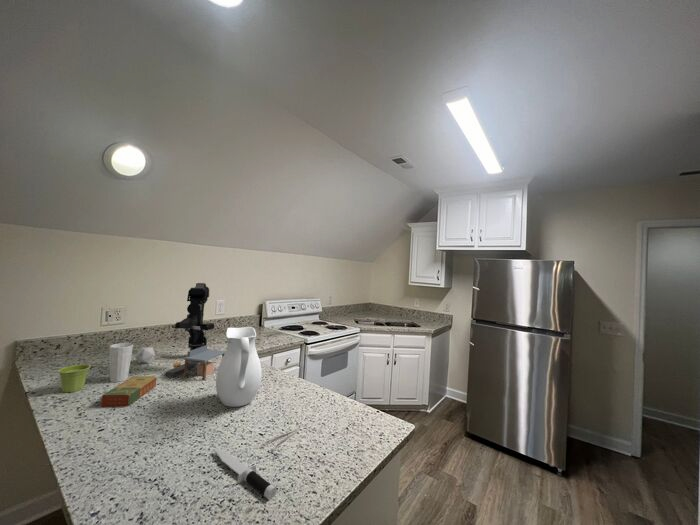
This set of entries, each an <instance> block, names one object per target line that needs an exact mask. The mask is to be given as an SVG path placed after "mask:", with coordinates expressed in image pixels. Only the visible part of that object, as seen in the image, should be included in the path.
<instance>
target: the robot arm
mask: <svg viewBox="0 0 700 525" xmlns="http://www.w3.org/2000/svg"><path fill="white" fill-rule="evenodd" d="M208 298H210V287H208V286H207V283H205V282H198V283H195V287H190V288H189V290H188V294H187V299H186V301H187V302H190V303H189V304H188V305H187V308H186V310H187V313H188V314H187V315H186V317H185V318H184V319H182V320H181V321H177V322H175V324H174V328H175V329H182V330H183V329H184V331H186V332H188V334H189V336H188V346H187V348H188V349H189V351H191V350H194V349H197V348H199V347H202V346H205V345H206V346H208V344H207V343H208V341H207V340H208V339H207V337H206V335H205V332H204V331H209V330H210V331H211V330H214V329H215V323H213V322H206V323H205V322H204V311H205V305H206V303H207V302H208Z"/></svg>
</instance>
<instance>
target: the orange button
mask: <svg viewBox="0 0 700 525" xmlns="http://www.w3.org/2000/svg"><path fill="white" fill-rule="evenodd" d="M181 365H182V363H181V362H175V363H173V368H175V367H180V366H181Z"/></svg>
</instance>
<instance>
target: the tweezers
mask: <svg viewBox="0 0 700 525" xmlns="http://www.w3.org/2000/svg"><path fill="white" fill-rule="evenodd" d="M296 430H297V431H296ZM300 430H301V427H300V428H297V429H294V430H291V431H289V432H286V433H283V434H280V435H277V436H275V437H273V438H271V439H269V440H267V441H265V442H264V443H262V444H261V446H260V447H262V448H261V449H263V448H265V447H266V445H267V446H269V445H270V443H271V444H273V443H275V442H277V441H279V440H281V439H282V438H283V439H282V440H281V441H279V442H278V443H277V444H275V445H274V447H273V448H271V449H267V452H268V451H269V452H268V453H270V451H271V453H273V452H274V451H275V450H277V448H278V447H279V445H280V446H281V445H282V444H283V443H284V442H286V441H287V440H289V439H290V438H291V437H293V435H295V434H296V433H298V432H299V431H300ZM288 434H289V435H288ZM274 441H275V442H274ZM272 442H273V443H272ZM268 444H269V445H268ZM263 446H264V447H263Z"/></svg>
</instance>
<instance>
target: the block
mask: <svg viewBox="0 0 700 525" xmlns="http://www.w3.org/2000/svg"><path fill="white" fill-rule="evenodd" d="M196 368H197V369H196V375H197V376H202V375H203V363H199V364H198V366H197V367H196ZM213 372H214V361H208V362H207V365H206V377H207V376H209V375H210V374H212V373H213Z"/></svg>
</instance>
